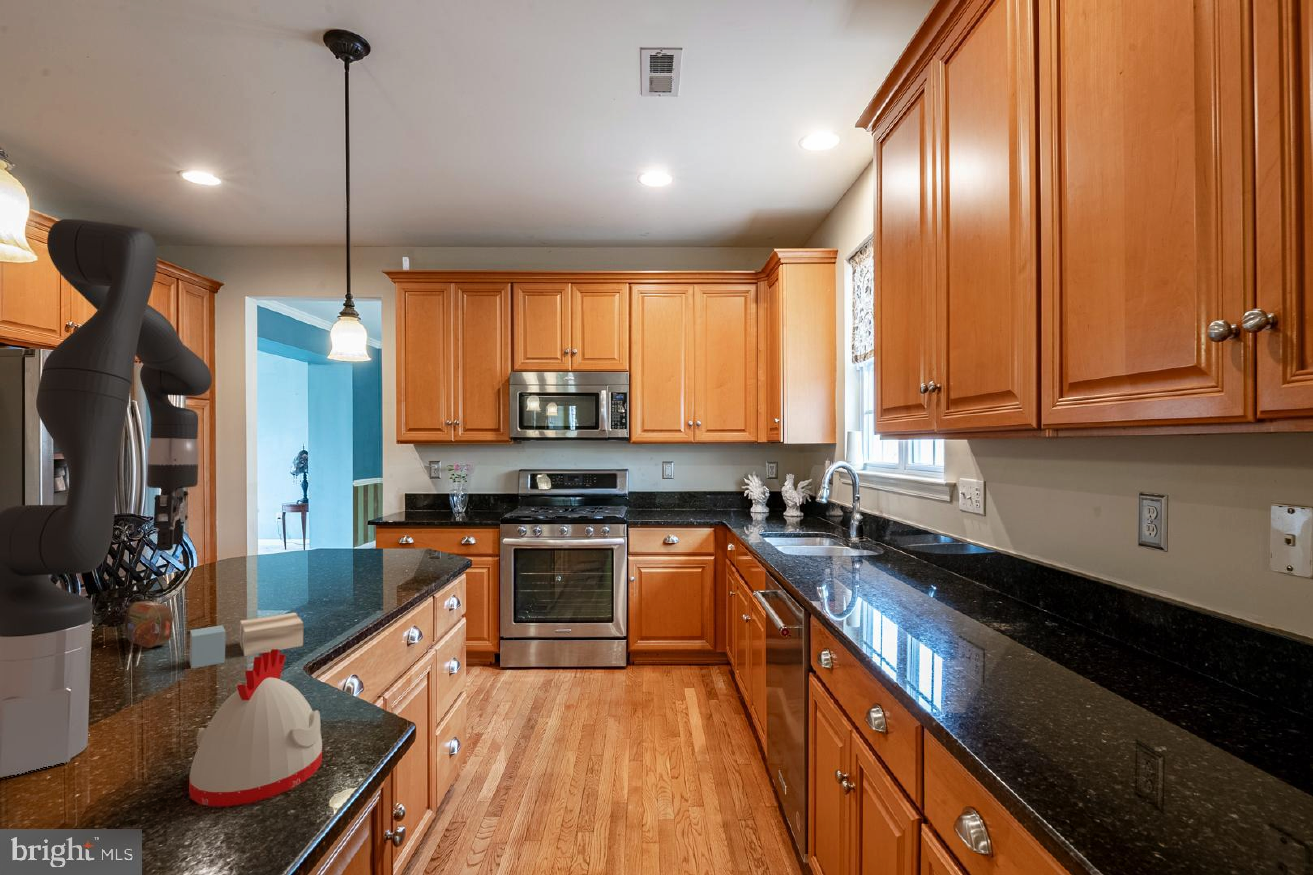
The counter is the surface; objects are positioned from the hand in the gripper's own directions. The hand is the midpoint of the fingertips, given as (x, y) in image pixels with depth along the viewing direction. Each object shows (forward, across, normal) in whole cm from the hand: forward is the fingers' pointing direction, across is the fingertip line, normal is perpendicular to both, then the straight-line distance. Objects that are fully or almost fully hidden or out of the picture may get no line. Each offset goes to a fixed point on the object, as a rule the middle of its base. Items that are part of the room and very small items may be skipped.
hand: (170, 547), depth 111 cm
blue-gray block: (+22, -2, -7) cm, 23 cm away
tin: (+22, +16, +6) cm, 28 cm away
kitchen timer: (+23, -53, -19) cm, 61 cm away
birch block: (+22, +4, -16) cm, 28 cm away
